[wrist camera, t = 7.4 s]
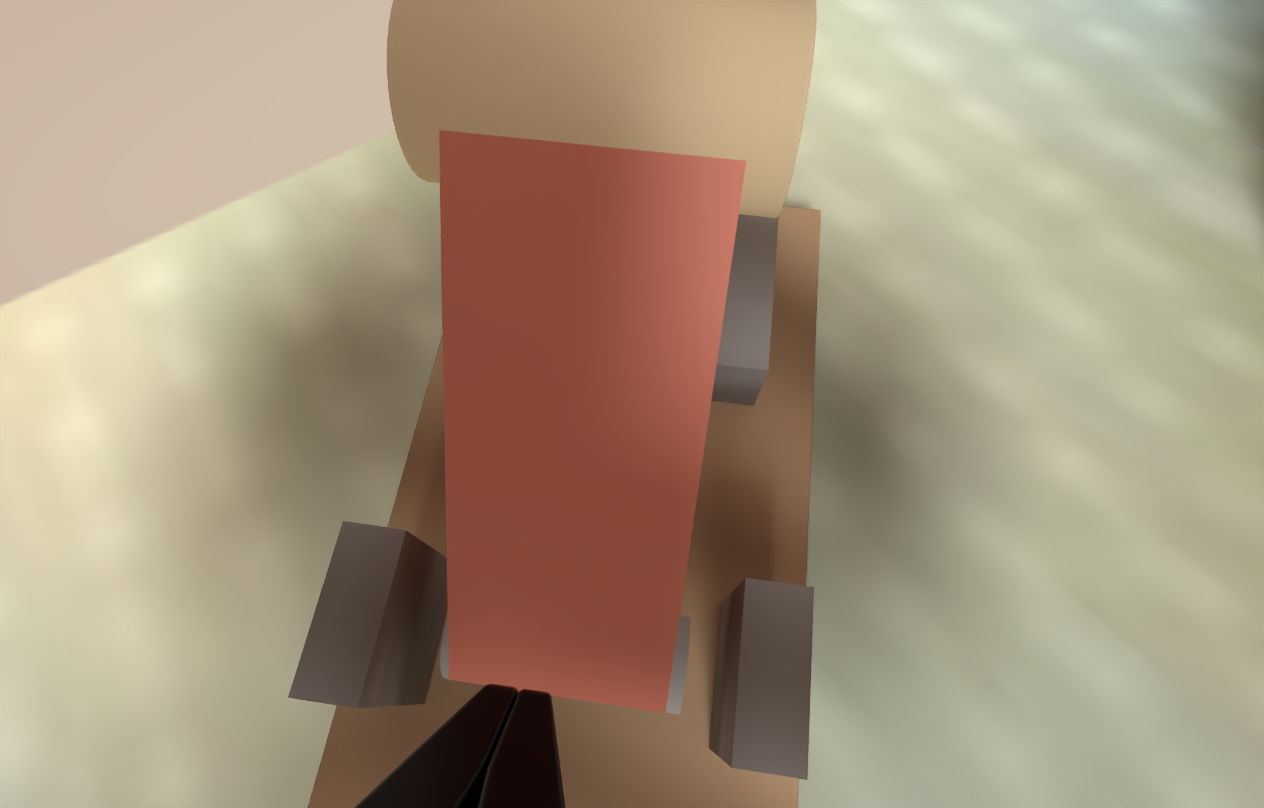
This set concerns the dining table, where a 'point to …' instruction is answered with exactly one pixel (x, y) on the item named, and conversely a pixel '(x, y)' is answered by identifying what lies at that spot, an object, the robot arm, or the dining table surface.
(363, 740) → the base
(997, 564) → the dining table surface
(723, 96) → the lever
